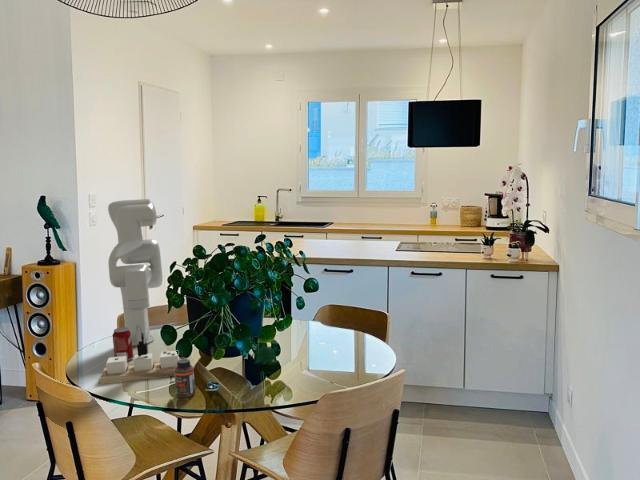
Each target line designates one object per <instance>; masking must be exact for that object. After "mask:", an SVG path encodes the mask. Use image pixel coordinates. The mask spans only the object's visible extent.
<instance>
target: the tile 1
mask: <svg viewBox="0 0 640 480" xmlns="http://www.w3.org/2000/svg"><path fill="white" fill-rule="evenodd" d="M105 364H106V365H105V366H107V374H117V373H127V372H126V369H127V364H128V361H127V357H126V356H120V357H115V356H114V357H108V358H107V361H106V363H105Z"/></svg>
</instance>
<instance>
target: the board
mask: <svg viewBox="0 0 640 480" xmlns="http://www.w3.org/2000/svg"><path fill="white" fill-rule="evenodd" d="M180 358H181V357H179V360H180ZM175 368H176V367H169V368H161V363H160V359H158V360H153V368H152V369H151V370H141V371H134V362H129V363H127V369H126V372H123V373H114V374H107V365H105V366H104V368H103V371H102V373H101V375H100V377H99V384H100V385H104V384H112V383H121V382H131V381H139V380H140V381H141V380H146V379H147V380H148V379H157V378H165V376H167V377H173V376H174V377H175Z"/></svg>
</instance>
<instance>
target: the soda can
mask: <svg viewBox="0 0 640 480" xmlns="http://www.w3.org/2000/svg"><path fill="white" fill-rule="evenodd" d="M112 344H113V354H114V357H120V356H126V357H127V362H129V361H131V360H132V359H134V349H133V347H134V346H132V337H131V332H130V331H129V328H127V327H125V326H124V327H123V326H122V327H117V328H114V330H113V334H112Z"/></svg>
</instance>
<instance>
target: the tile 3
mask: <svg viewBox="0 0 640 480" xmlns="http://www.w3.org/2000/svg"><path fill="white" fill-rule="evenodd" d="M176 351H177V350H170V351H162V352H161V351H160V356H159V360H160V363H161V369H163V368H172V367H178V366H177V361H178V360H179V358H180V356H178V355H179V353H178V354H177V352H176Z"/></svg>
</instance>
